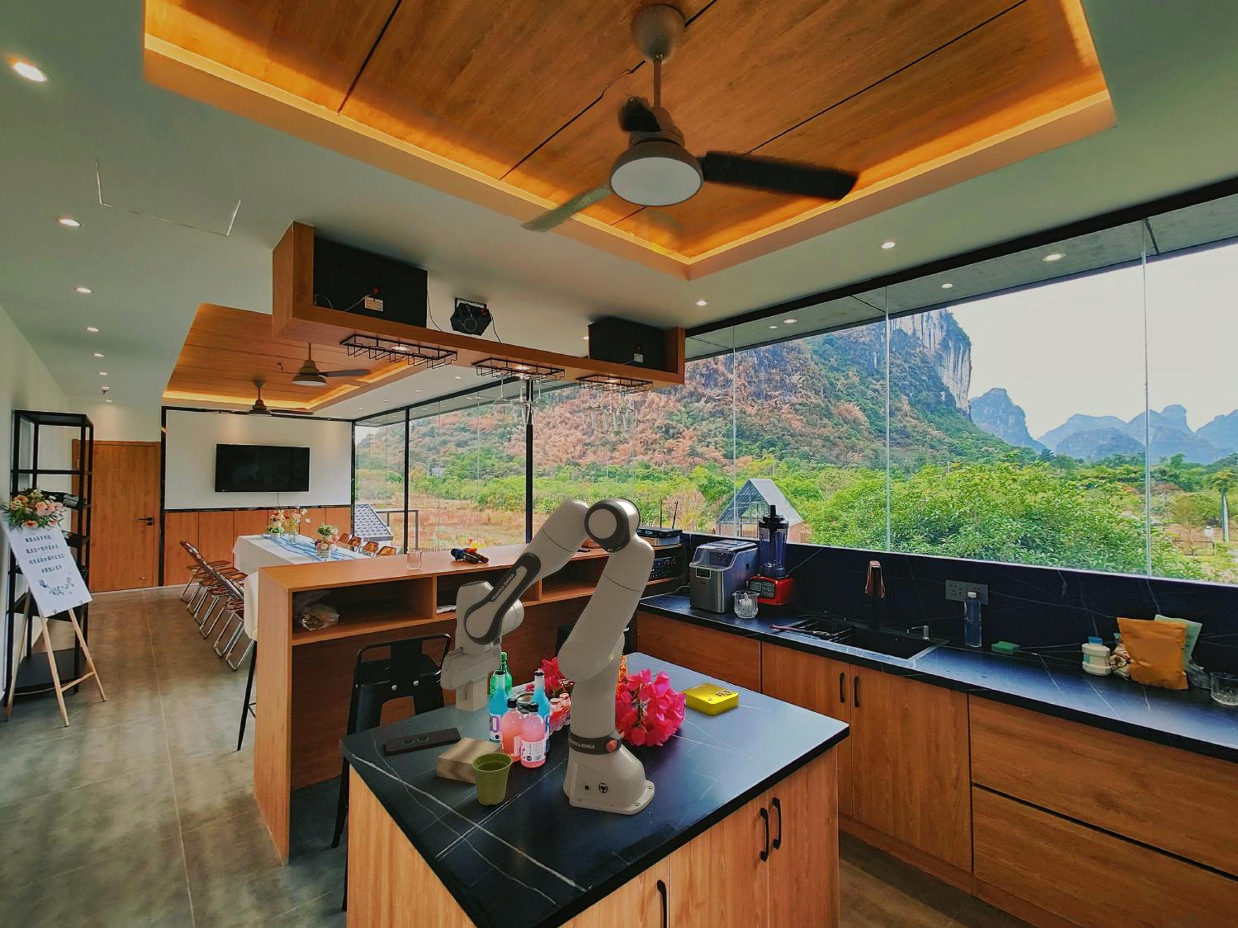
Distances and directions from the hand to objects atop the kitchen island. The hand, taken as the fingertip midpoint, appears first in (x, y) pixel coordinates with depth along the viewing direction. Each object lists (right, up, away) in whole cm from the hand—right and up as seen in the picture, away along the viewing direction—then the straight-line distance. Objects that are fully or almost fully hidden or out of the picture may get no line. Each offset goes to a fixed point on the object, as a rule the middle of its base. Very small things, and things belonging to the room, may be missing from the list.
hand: (471, 695), depth 147 cm
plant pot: (+9, -18, -15) cm, 25 cm away
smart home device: (-18, -20, +14) cm, 30 cm away
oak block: (0, -19, -1) cm, 19 cm away
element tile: (+70, -22, +44) cm, 85 cm away
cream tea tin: (0, -3, 0) cm, 3 cm away
